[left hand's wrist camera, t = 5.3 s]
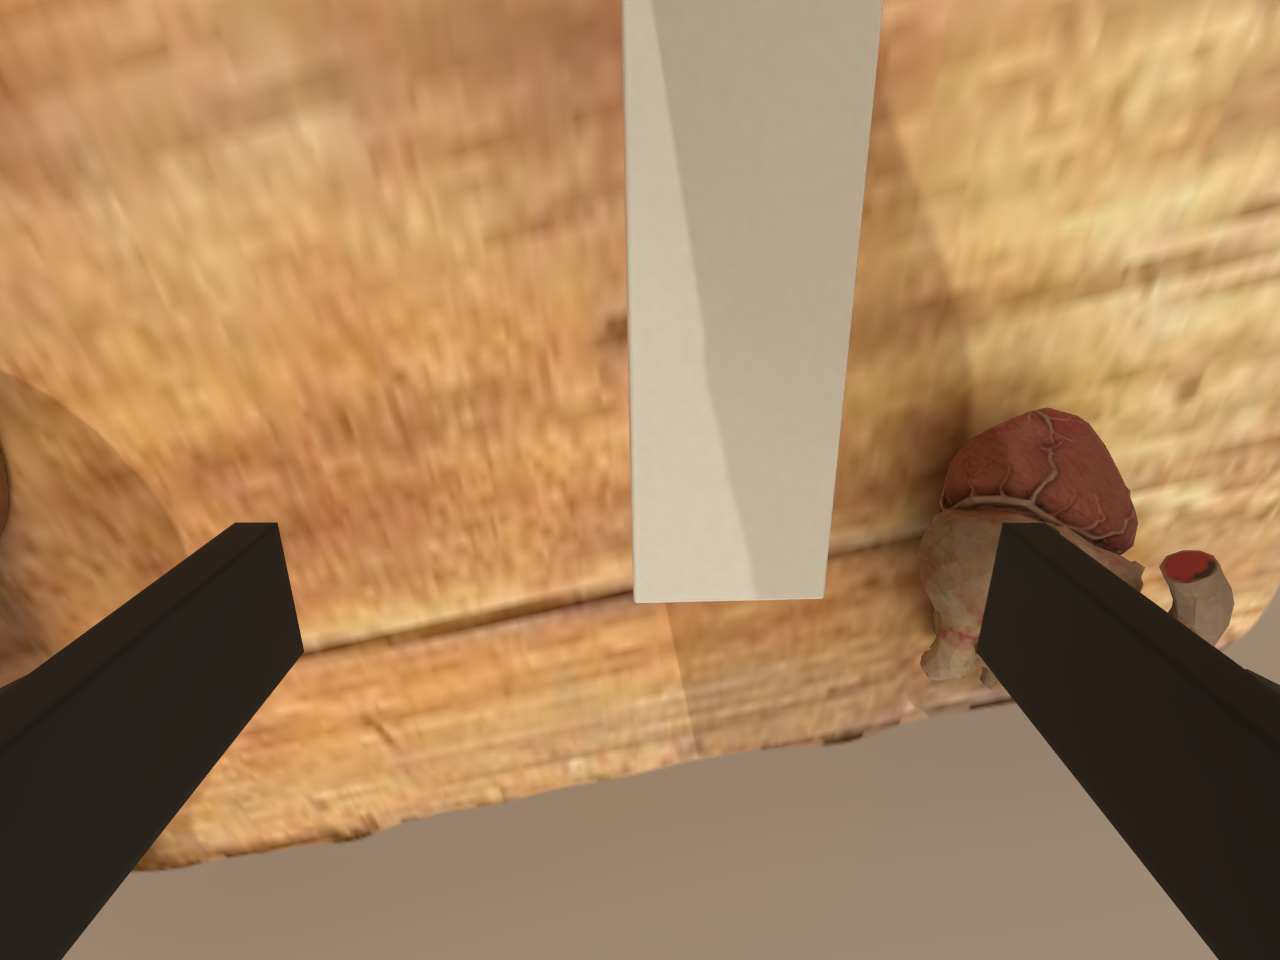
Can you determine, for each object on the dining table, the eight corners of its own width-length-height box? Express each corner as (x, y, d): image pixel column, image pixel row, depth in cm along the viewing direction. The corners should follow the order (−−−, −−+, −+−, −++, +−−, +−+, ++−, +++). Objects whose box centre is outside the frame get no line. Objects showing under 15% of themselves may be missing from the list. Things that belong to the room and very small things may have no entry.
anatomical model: (958, 404, 36) (951, 668, 39) (868, 416, 31) (867, 724, 33) (1276, 405, 27) (1241, 757, 29) (1229, 424, 21) (1191, 855, 24)
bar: (765, 486, 26) (824, 600, 18) (630, 489, 26) (633, 604, 18) (831, -641, 15) (1032, -1457, 8) (608, -642, 15) (594, -1471, 8)
